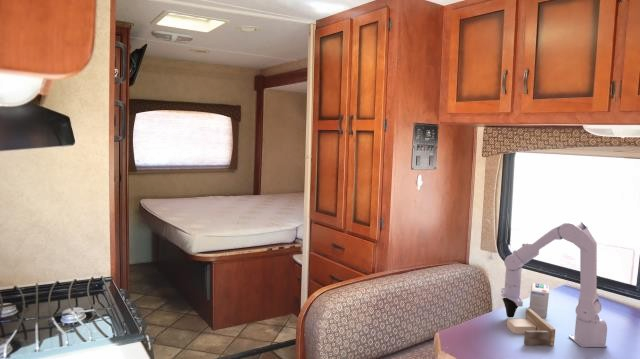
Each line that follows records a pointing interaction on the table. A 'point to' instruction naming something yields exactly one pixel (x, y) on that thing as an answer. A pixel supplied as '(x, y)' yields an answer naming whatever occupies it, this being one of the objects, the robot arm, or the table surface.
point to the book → (520, 325)
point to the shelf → (538, 331)
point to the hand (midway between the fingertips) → (510, 316)
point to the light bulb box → (539, 299)
